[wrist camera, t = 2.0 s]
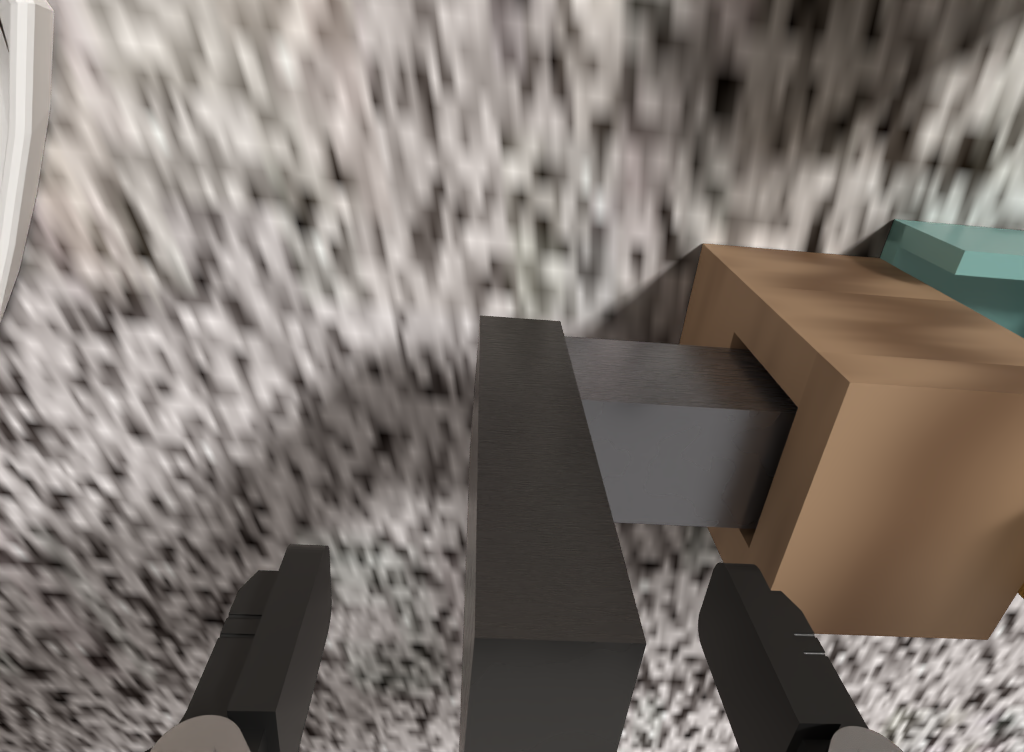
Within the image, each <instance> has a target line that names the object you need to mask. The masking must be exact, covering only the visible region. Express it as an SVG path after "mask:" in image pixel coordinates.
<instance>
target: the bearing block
mask: <svg viewBox="0 0 1024 752" xmlns="http://www.w3.org/2000/svg"><path fill="white" fill-rule="evenodd" d="M679 345H694V346H708V347H722V348H737V349H749V350H750V351H751V352H752V354H753V355H754V356H755V357H756V358H757V360H758V361H759V362H760V363H761V364H762V365H763V367H764V368H765V369H766V370H767V371H768V373H769V374H770V375H771V376H772V377H773V378H774V380H775V381H776V382H777V383H778V384H779V385H780V387H781V388H782V389H783V390H784V391H785V393H786V394H787V395H788V396H789V397H790V398H791V400H792V401H793V402H794V403H795V404H796V406H797V407H798V409H797V412H796V415H795V418H794V421H793V424H792V427H791V429H790V432H789V435H788V438H787V441H786V444H785V447H784V450H783V452H782V455H781V458H780V461H779V464H778V467H777V470H776V473H775V475H774V478H773V481H772V484H771V487H770V490H769V493H768V496H767V499H766V501H765V504H764V507H763V510H762V513H761V516H760V519H759V522H758V524H757V527H756V529H743V528H722V527H708V530H709V532H710V534H711V536H712V538H713V541H714V543H715V545H716V547H717V549H718V552H719V554H720V556H721V558H722V560H723V563H738V564H754V565H756V566H757V567H758V568H759V569H760V571H761V573H762V575H763V577H764V578H765V580H766V582H767V584H768V586H769V588H770V590H772V591H782V592H783V593H784V594H785V595H786V596H787V597H788V598H789V599H790V600H791V601H792V602H793V603H794V604H795V605H796V606H797V607H798V608H799V609H800V610H801V611H802V612H803V614H804V616H805V617H806V619H807V621H808V623H809V624H810V626H811V628H812V630H813V632H814V634H840V635H868V636H896V637H925V638H953V639H981V640H988V639H989V637H990V635H991V634H992V632H993V631H994V629H995V628H996V626H997V624H998V623H999V621H1000V620H1001V618H1002V616H1003V615H1004V613H1005V612H1006V610H1007V608H1008V607H1009V605H1010V604H1011V602H1012V600H1013V599H1014V597H1015V596H1016V594H1017V593H1018V591H1019V589H1020V588H1021V586H1022V585H1023V583H1024V338H1022V337H1020V336H1019V335H1017V334H1015V333H1013V332H1012V331H1010V330H1008V329H1006V328H1004V327H1003V326H1001V325H999V324H997V323H995V322H994V321H992V320H990V319H988V318H986V317H985V316H983V315H981V314H979V313H977V312H976V311H974V310H972V309H970V308H968V307H967V306H965V305H963V304H961V303H959V302H958V301H956V300H954V299H952V298H951V297H949V296H947V295H945V294H943V293H942V292H940V291H938V290H936V289H934V288H933V287H931V286H929V285H927V284H925V283H924V282H922V281H920V280H918V279H916V278H915V277H913V276H911V275H909V274H907V273H906V272H904V271H902V270H900V269H898V268H897V267H895V266H893V265H891V264H890V263H888V262H886V261H884V260H882V259H881V258H872V257H860V256H848V255H836V254H824V253H812V252H800V251H788V250H775V249H763V248H751V247H739V246H727V245H715V244H703V245H702V249H701V253H700V258H699V262H698V266H697V270H696V275H695V279H694V283H693V287H692V292H691V296H690V300H689V304H688V309H687V313H686V317H685V321H684V326H683V330H682V334H681V338H680V343H679Z"/></svg>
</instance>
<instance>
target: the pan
mask: <svg viewBox="0 0 1024 752" xmlns="http://www.w3.org/2000/svg"><path fill="white" fill-rule="evenodd" d="M0 22H1V25H2V28H1V25H0V323H1V320H2V317H3V314H4V312H5V309H6V306H7V303H8V301H9V298H10V295H11V292H12V289H13V287H14V284H15V281H16V278H17V276H18V273H19V270H20V265H21V261H22V257H23V252H24V248H25V244H26V239H27V235H28V231H29V226H30V222H31V217H32V213H33V209H34V204H35V200H36V196H37V190H38V183H39V177H40V171H41V164H42V158H43V152H44V145H45V139H46V133H47V127H48V120H49V114H50V106H51V81H52V55H53V29H54V11H53V9H52V8H51V6H50V5H49V3H48V2H47V0H0ZM2 29H3V31H2ZM3 33H4V34H3Z"/></svg>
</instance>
